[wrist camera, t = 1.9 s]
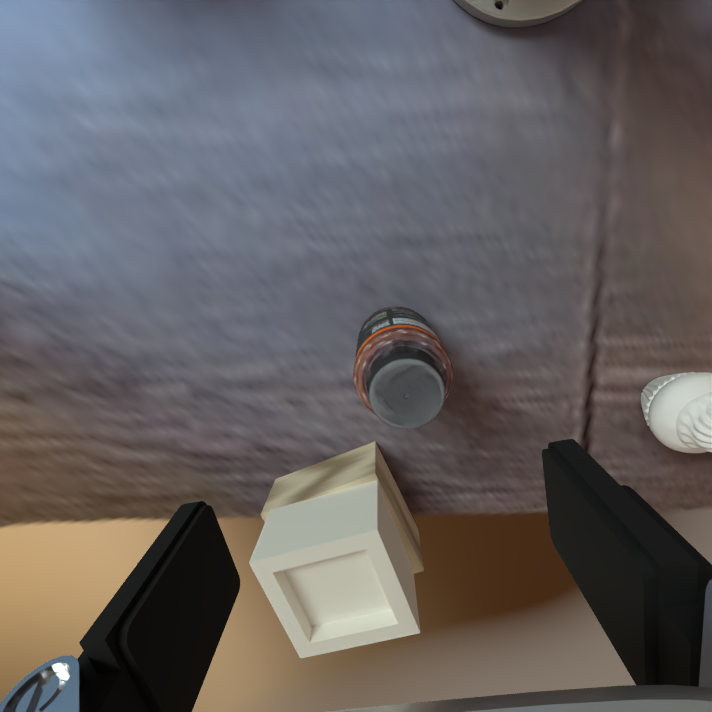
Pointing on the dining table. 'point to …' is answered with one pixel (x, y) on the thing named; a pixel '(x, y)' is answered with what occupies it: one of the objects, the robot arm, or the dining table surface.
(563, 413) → the dining table surface
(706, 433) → the white cupcake
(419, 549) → the tower base
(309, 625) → the tower top
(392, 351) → the supplement bottle
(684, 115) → the dining table surface
